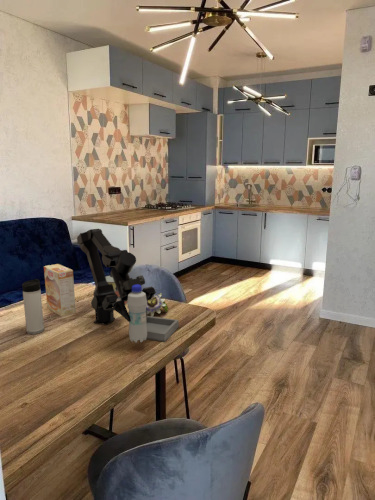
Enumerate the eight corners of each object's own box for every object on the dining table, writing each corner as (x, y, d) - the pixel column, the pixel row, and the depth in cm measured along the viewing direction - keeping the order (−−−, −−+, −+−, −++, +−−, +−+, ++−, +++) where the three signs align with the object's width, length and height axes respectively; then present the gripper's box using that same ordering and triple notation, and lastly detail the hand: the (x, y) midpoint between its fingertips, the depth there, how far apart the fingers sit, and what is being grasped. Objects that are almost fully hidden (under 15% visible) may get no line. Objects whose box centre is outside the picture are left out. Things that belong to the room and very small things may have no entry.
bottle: (144, 345, 127) (143, 288, 123) (125, 343, 129) (123, 287, 125) (150, 336, 134) (149, 282, 130) (132, 334, 135) (130, 281, 131)
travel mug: (48, 329, 148) (44, 279, 144) (35, 335, 142) (30, 284, 138) (36, 326, 150) (31, 278, 146) (23, 332, 144) (18, 282, 140)
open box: (130, 336, 141) (129, 329, 140) (146, 322, 153) (146, 315, 153) (164, 341, 136) (164, 334, 135) (178, 327, 149) (178, 319, 148)
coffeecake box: (46, 307, 171) (43, 266, 167) (61, 304, 176) (58, 263, 172) (60, 317, 160) (57, 272, 156) (76, 312, 165) (73, 269, 161)
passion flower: (152, 328, 162) (136, 309, 156) (149, 314, 171) (133, 296, 166) (174, 313, 161) (158, 294, 156) (169, 300, 171) (154, 282, 166)
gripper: (103, 273, 125) (119, 314, 118) (152, 264, 135) (170, 302, 129) (95, 289, 133) (110, 329, 126) (142, 280, 143) (158, 317, 137)
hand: (138, 319), depth 129 cm, fingers closed on bottle, 6 cm apart
